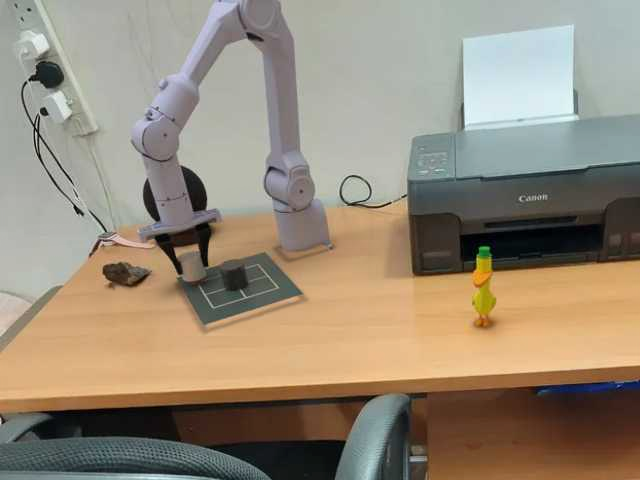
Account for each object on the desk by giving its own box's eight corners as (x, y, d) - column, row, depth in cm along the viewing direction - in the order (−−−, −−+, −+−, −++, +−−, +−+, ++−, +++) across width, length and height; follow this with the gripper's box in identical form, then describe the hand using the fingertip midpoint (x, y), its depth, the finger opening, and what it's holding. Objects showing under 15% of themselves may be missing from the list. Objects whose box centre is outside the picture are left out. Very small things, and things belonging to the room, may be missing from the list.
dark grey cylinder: (244, 277, 122) (239, 256, 120) (251, 286, 119) (246, 265, 116) (221, 284, 121) (216, 263, 119) (228, 293, 118) (222, 272, 115)
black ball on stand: (192, 250, 138) (171, 177, 129) (144, 246, 143) (120, 175, 134) (227, 225, 147) (210, 155, 138) (181, 222, 152) (161, 154, 143)
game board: (266, 257, 131) (264, 251, 130) (305, 300, 115) (303, 293, 114) (177, 283, 127) (175, 277, 126) (205, 331, 110) (203, 325, 110)
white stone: (203, 268, 124) (197, 248, 122) (209, 277, 121) (203, 256, 118) (180, 275, 123) (174, 255, 121) (185, 284, 120) (179, 263, 117)
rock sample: (164, 252, 129) (122, 236, 122) (162, 289, 127) (119, 275, 121) (137, 268, 136) (96, 254, 129) (135, 303, 134) (93, 290, 128)
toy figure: (488, 336, 99) (489, 261, 91) (465, 334, 100) (463, 259, 92) (499, 314, 103) (500, 241, 96) (476, 312, 105) (476, 240, 97)
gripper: (206, 178, 117) (225, 251, 126) (125, 199, 114) (150, 272, 122) (216, 189, 112) (235, 263, 121) (131, 211, 109) (157, 286, 117)
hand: (193, 269), depth 121 cm, fingers closed on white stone, 4 cm apart
